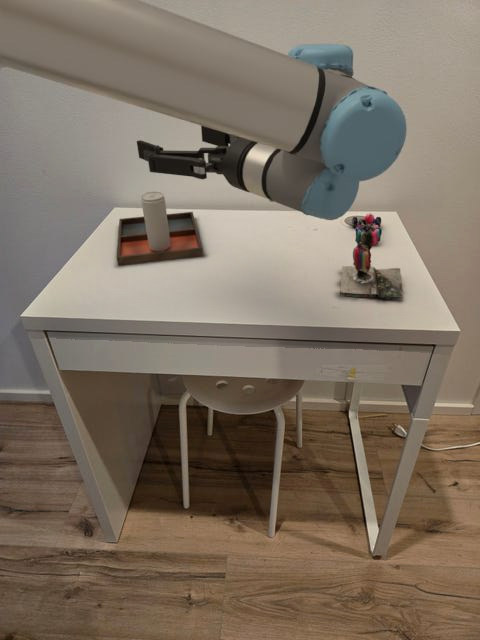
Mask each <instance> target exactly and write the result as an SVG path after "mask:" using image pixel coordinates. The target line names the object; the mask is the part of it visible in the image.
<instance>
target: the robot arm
mask: <svg viewBox="0 0 480 640" xmlns="http://www.w3.org/2000/svg"><path fill="white" fill-rule="evenodd" d="M5 67H6V68H9V69H13V70H16V71H18V72H19V71H20V72H22V73H26V74H29V75H33V76H36V77H40V78H43V79H46V80H49V81H53V82H56V83H59V84H63V85H65V86H68V87H72V88H75V89H79V90H83V91H85V92H88V93H92V94H95V95H98V96H102V97H106V98H109V99H112V100H116V101H118V102H122V103H126V104H129V105H131V106H135V107H138V108H142V109H146V110H148V111H152V112H156V113H159V114H162V115H165V116H168V117H172V118H175V119H177V120H181V121H185V122H189V123H190V124H191V123H192V124H195V125H198V126H200V127H201V128H200V129H201V142H202V143H206V144H210V145H213V146H215V147H200V148H199V149H198V150H165V149H164V147H161V146H160V145H158V144H157V145H156V144H154V143H151V142H147V141H144V140H141V139H140V140H136V146H137V153H138V158H139V159H140V160H144V161H145V162H148V170H149V173H155V174H164V175H173V176H174V175H175V176H182V177H191V178H195V179H199V180H206V179H207V178H208V176H207V173H208V174H209V173H211V174H212V173H213V174H216V175H222V176H223V177H224V178H225V180H226V182H227V183H228V184H229V185H230V186H231V187H233V188H236V189H238V190H241V191H243V192H246V193H249V194H250V193H251V194H252V195H255V196H258V197H261V198H263V199H266V200H268V201H269V202H270V203H273V202H274V203H277V204H279V205H282V206H284V207H287V208H290V209H293V210H295V211H297V212H300V213H302V214H303V215H305V216H309V217H310V216H311V217H314V218H318V219H321V220H326V221H335V220H338V219H339V218H342V217H343V216H344V215H345V214H346V213H348V212H349V210H350V209H351V207H352V206H353V204H354V202H355V200H356V198H357V196H358V192H359V189H360V182H364V181H365V182H366V181H369V180H372V179H374V178H377V177H378V176H380V175H382V174H383V173H385V172H386V171H387V170H388V169H389V168H391V166H392V165H394V163H395V162H396V160H397V159H398V157H399V156H400V154H401V152H402V149H403V148H404V145H405V142H406V139H407V138H406V137H407V119H406V116H405V114H404V111H403V109H402V107H401V106H400V105H399V103H398V102H397V101H396V100H395V99H394V98H393V97H390V95H388V92H386V91H385V90H383V89H380V88H377V87H374V86H371V85H368V84H366V83H364V82H361V81H359V80H358V79H356V78H355V77H353V76H354V73H355V72H354V68H353V67H354V51H353V49H352V48H351V46H349V45H346V44H341V43H305V44H298V45H295V46H293V47H292V48H291V49H289V51H288V53H287V54H285V53H282V52H280V51H278V50H277V51H276V50H274V49H271V48H268V47H266V46H263V45H260V44H258V43H256V42H253V41H249V40H248V39H246V38H245V39H244V38H242V37H240V36H236V35H234V34H232V33H229V32H226V31H223V30H220V29H218V28H215V27H212V26H209V25H207V24H205V23H201V22H199V21H196V20H193V19H191V18H188V17H185V16H183V15H180V14H177V13H175V12H172V11H169V10H167V9H164V8H161V7H158V6H156V5H153V4H150V3H148V2H145V1H142V0H0V70H1V69H2V68H3V69H4V68H5ZM205 154H207V161H206V160H205V159H206V157H205Z"/></svg>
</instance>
